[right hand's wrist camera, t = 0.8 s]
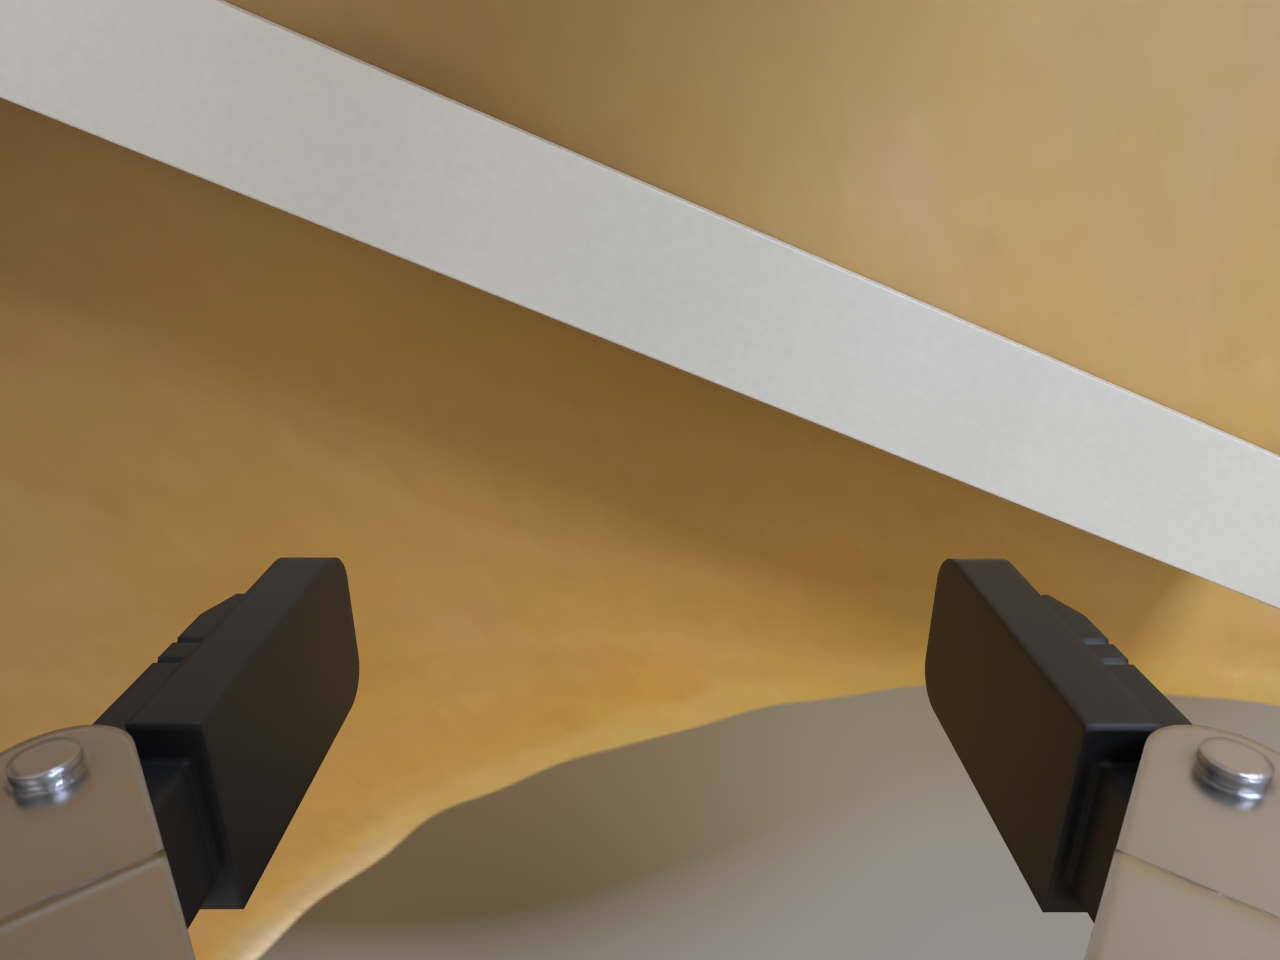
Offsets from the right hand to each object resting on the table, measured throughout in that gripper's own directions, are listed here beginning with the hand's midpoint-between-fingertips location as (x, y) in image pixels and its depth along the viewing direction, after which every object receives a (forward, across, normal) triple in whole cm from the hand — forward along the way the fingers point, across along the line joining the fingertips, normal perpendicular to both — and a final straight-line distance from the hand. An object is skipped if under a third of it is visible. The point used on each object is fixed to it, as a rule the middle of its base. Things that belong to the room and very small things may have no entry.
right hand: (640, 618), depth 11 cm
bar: (+24, +3, -4) cm, 24 cm away
